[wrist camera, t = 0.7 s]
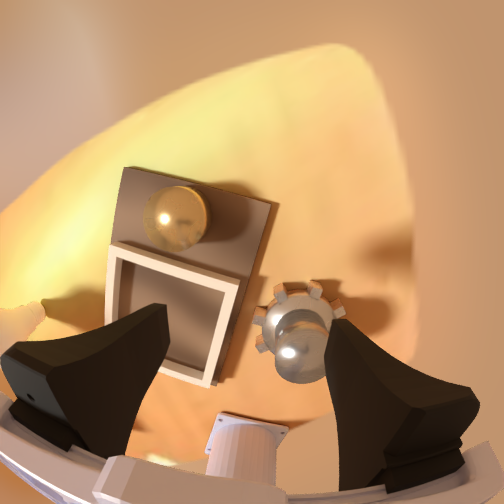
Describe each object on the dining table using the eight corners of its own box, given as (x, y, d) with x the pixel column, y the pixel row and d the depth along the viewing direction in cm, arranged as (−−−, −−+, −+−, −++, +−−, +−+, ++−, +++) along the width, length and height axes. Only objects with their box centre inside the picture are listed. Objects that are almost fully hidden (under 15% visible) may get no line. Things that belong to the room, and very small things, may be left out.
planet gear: (322, 365, 23) (332, 407, 18) (242, 346, 23) (235, 388, 18) (357, 293, 21) (379, 325, 16) (268, 267, 21) (267, 296, 16)
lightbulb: (67, 320, 24) (4, 372, 14) (47, 337, 25) (-6, 383, 15) (38, 274, 23) (-32, 312, 12) (22, 296, 24) (-37, 333, 14)
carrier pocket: (211, 380, 24) (209, 388, 22) (110, 342, 24) (104, 348, 22) (240, 280, 21) (238, 285, 20) (116, 241, 21) (109, 244, 20)
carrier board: (217, 383, 24) (216, 386, 24) (107, 342, 24) (105, 345, 24) (271, 204, 20) (271, 204, 19) (126, 167, 20) (123, 167, 19)
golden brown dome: (204, 251, 20) (195, 260, 18) (152, 235, 20) (138, 242, 18) (218, 194, 19) (211, 195, 17) (163, 180, 19) (150, 180, 17)
